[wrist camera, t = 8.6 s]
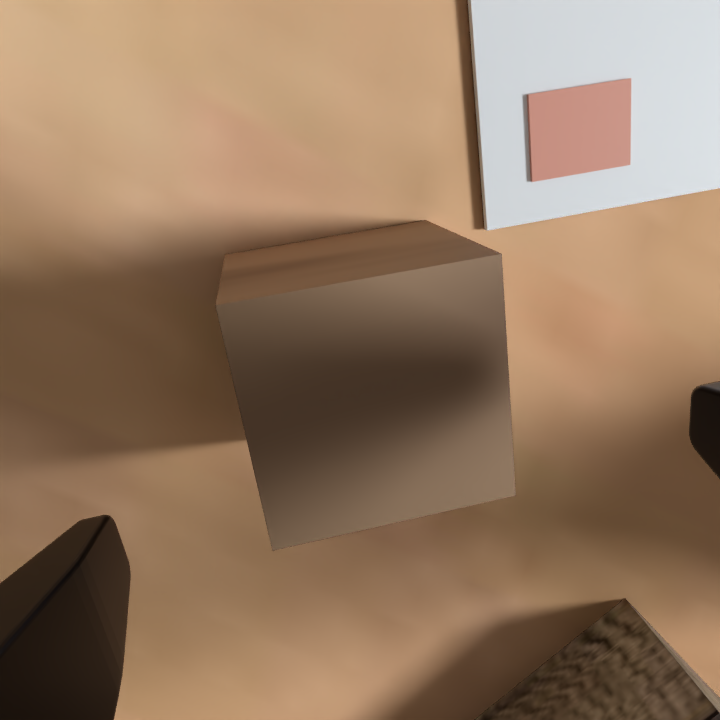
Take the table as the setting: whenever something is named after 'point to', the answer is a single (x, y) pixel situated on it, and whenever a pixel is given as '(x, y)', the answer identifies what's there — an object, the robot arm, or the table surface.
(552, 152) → the envelope
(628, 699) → the hardback book
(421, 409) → the walnut block
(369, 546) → the table surface
